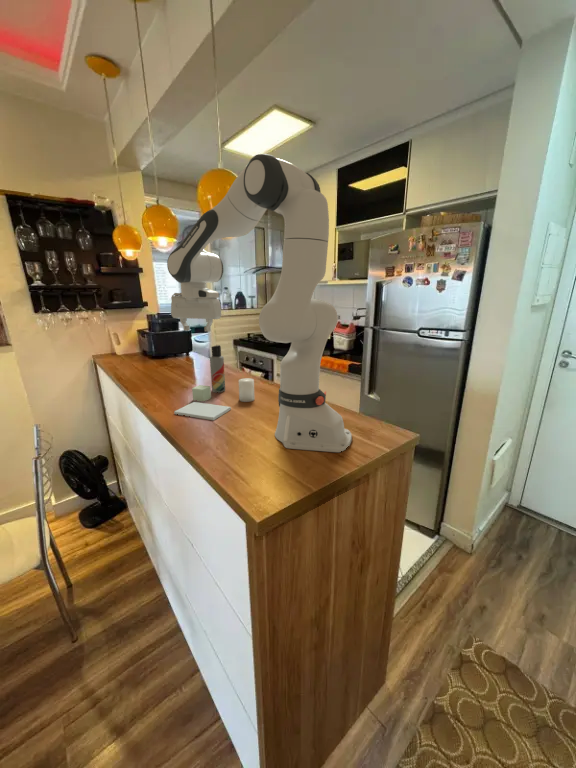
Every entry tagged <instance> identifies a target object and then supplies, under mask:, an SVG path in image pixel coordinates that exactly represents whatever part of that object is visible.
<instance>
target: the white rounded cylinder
mask: <svg viewBox="0 0 576 768" xmlns="http://www.w3.org/2000/svg"><path fill="white" fill-rule="evenodd" d="M238 397H239V398H238V399H239V401H240V402H243V403H249V402H253V401H254V400H255V379H254V378H248V377H247V378H245V377H244V378H240V379H238Z"/></svg>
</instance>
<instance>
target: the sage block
mask: <svg viewBox="0 0 576 768" xmlns="http://www.w3.org/2000/svg"><path fill="white" fill-rule="evenodd" d="M191 390H192V391H191V392H192V401H195V400H197V401H196V402H202V401H204V402H206V401H208V400H210V399H211V398H212V388H211V385H202V384H199V385H197V386H194V387H192V388H191Z"/></svg>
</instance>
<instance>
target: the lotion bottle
mask: <svg viewBox="0 0 576 768" xmlns="http://www.w3.org/2000/svg"><path fill="white" fill-rule="evenodd" d="M224 360H225V358H224V355H222V347H221V345H219V344H218V345H212V346H211V356H209V363H210V364H209V365H210V367H209V368H210V379H211V392H213V393H217V392H218V393H223V391H224V392H225V391H226V379H225V378H226V377H225V376H226V374H225V361H224Z"/></svg>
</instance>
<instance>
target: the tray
mask: <svg viewBox="0 0 576 768" xmlns="http://www.w3.org/2000/svg"><path fill="white" fill-rule="evenodd" d="M231 410H232V407H231V406H227V405H220V404H219V405H218V404H211V403H205V402H200V401H193V402H191V403H189V404H187V405H185V406H183V407H180V408H179V409H176V410H174V415H177V414H178V416H183V415H185V416H184V417H189V416H190V417H189V418H197V419H203V420H208V421H210V420H211V421H215V420H216V419H219V418H220V417H221V416H223V415H225V414H226V413H228V412H229V411H231Z"/></svg>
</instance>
